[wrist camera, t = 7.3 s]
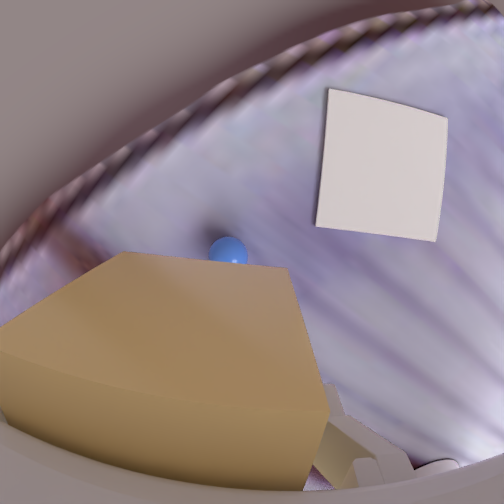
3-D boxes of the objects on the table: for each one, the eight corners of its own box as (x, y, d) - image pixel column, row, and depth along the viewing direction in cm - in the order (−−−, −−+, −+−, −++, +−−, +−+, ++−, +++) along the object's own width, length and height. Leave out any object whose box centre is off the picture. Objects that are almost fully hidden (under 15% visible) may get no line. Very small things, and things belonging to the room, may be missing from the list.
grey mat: (433, 241, 27) (435, 242, 27) (315, 225, 27) (315, 226, 27) (445, 118, 24) (447, 118, 24) (328, 89, 24) (329, 88, 24)
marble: (246, 271, 28) (245, 283, 25) (210, 268, 28) (204, 278, 25) (250, 235, 27) (249, 242, 24) (212, 231, 27) (206, 238, 24)
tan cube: (267, 402, 13) (271, 559, 6) (130, 384, 13) (58, 514, 6) (287, 268, 12) (330, 411, 4) (123, 251, 12) (-22, 341, 4)
